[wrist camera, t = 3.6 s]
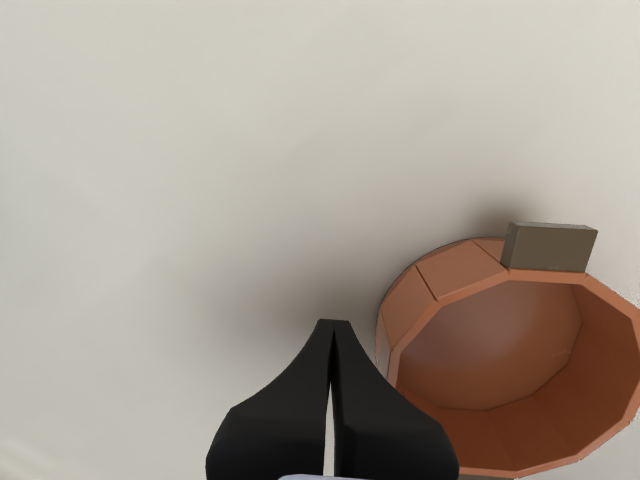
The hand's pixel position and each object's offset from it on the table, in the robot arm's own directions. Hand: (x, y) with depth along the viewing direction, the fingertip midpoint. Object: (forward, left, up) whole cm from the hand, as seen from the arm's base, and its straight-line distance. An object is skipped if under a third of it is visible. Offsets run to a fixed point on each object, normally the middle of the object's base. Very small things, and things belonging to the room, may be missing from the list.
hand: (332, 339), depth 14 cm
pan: (-3, -6, -1) cm, 7 cm away
